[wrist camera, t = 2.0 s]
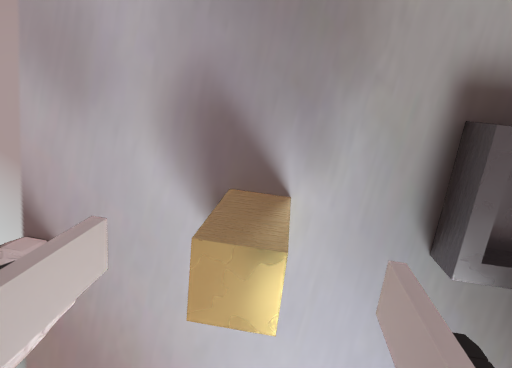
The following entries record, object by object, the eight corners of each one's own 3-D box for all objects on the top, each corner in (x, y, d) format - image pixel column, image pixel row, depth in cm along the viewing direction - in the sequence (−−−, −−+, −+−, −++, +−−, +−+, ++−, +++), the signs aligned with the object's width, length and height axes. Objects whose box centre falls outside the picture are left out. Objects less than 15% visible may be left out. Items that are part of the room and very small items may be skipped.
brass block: (282, 253, 22) (275, 336, 14) (224, 244, 22) (186, 320, 14) (290, 197, 21) (287, 253, 13) (229, 188, 21) (191, 238, 13)
